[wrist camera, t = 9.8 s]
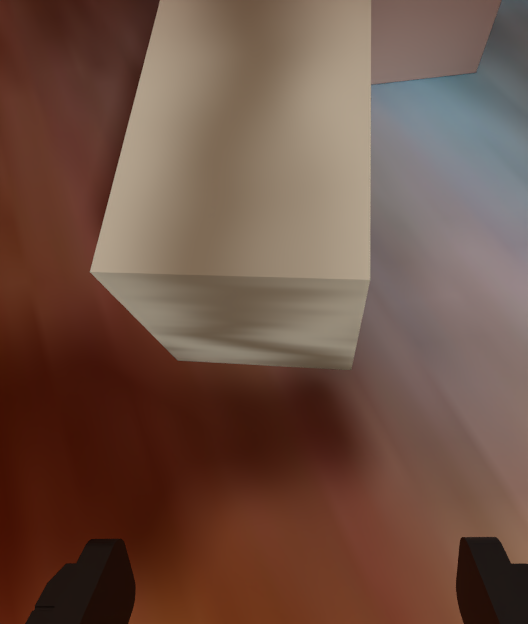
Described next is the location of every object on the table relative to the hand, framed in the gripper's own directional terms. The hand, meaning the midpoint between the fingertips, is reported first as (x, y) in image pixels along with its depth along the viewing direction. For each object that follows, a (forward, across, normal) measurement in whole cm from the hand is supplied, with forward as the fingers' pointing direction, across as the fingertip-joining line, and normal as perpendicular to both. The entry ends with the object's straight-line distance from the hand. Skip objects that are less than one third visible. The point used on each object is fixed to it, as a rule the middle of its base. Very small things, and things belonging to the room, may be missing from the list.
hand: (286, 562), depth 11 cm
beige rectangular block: (+13, 0, -6) cm, 14 cm away
